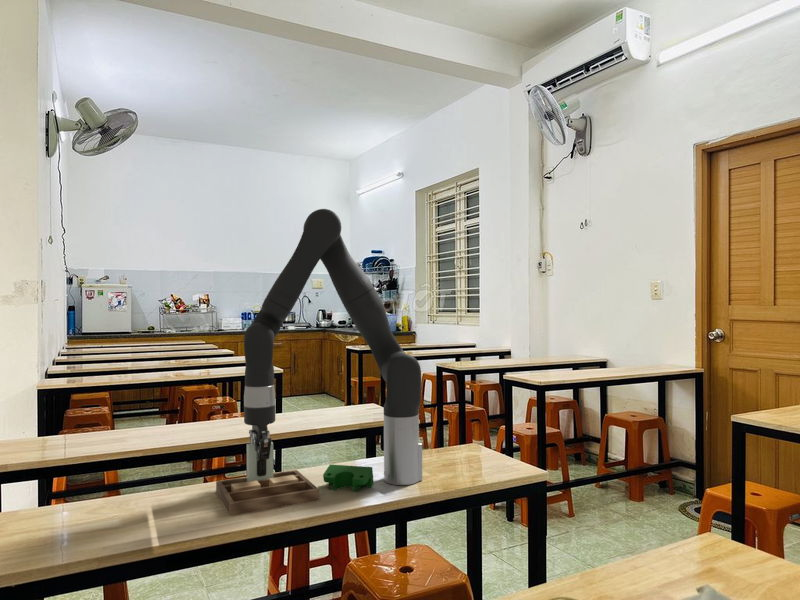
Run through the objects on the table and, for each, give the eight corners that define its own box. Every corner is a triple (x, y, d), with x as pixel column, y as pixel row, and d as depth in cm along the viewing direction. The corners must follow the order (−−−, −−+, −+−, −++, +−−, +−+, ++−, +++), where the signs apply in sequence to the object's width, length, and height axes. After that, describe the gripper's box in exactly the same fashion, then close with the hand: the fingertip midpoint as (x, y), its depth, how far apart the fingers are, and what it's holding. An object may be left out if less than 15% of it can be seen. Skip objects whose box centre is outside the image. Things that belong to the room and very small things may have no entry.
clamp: (332, 510, 137) (315, 479, 136) (340, 497, 142) (324, 466, 141) (374, 496, 133) (357, 464, 132) (380, 483, 139) (364, 451, 138)
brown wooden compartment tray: (296, 483, 144) (296, 469, 144) (319, 504, 128) (319, 489, 128) (216, 495, 135) (216, 481, 135) (230, 520, 119) (229, 504, 119)
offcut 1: (256, 492, 134) (256, 480, 134) (260, 497, 130) (260, 484, 130) (231, 496, 131) (231, 484, 131) (234, 502, 128) (234, 488, 128)
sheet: (271, 485, 140) (270, 441, 140) (273, 487, 138) (273, 443, 138) (246, 488, 137) (246, 443, 137) (248, 491, 135) (248, 446, 135)
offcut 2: (293, 487, 138) (293, 474, 138) (298, 491, 134) (298, 479, 134) (269, 490, 135) (269, 478, 135) (273, 495, 132) (273, 482, 132)
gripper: (282, 406, 133) (282, 479, 133) (267, 398, 145) (268, 465, 145) (250, 409, 130) (250, 484, 129) (238, 400, 142) (238, 469, 142)
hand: (260, 473), depth 137 cm, fingers closed on sheet, 2 cm apart
